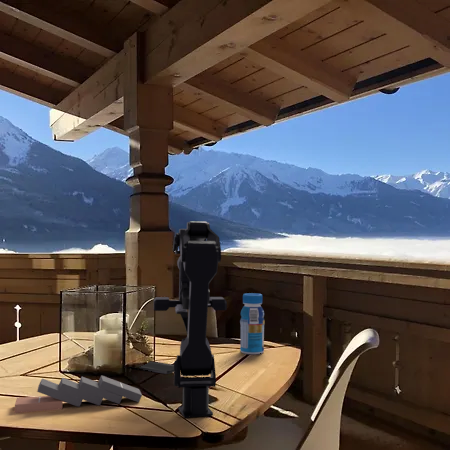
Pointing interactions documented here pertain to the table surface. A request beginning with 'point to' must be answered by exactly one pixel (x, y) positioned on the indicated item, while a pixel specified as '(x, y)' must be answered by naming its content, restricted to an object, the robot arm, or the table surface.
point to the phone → (158, 367)
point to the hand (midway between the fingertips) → (189, 336)
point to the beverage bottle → (252, 324)
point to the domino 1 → (37, 404)
